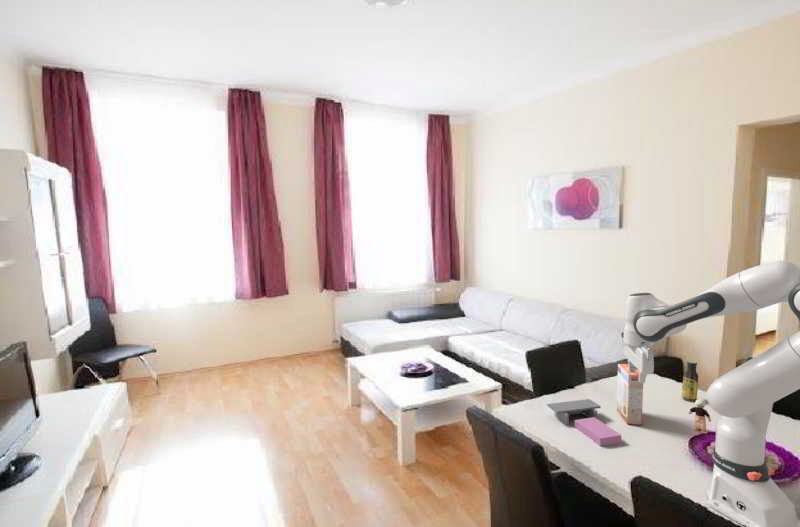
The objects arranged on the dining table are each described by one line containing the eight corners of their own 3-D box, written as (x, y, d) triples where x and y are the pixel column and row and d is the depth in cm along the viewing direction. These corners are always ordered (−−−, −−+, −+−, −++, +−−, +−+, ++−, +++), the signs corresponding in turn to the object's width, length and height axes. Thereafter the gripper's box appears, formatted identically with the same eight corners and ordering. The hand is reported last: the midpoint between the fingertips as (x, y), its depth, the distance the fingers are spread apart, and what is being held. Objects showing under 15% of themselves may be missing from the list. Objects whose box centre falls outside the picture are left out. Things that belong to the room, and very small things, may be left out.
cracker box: (643, 425, 168) (644, 375, 166) (626, 424, 169) (627, 374, 167) (631, 410, 181) (632, 363, 179) (616, 409, 182) (617, 363, 180)
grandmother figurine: (712, 432, 161) (713, 400, 160) (709, 435, 159) (711, 403, 157) (689, 425, 167) (690, 394, 166) (686, 428, 164) (687, 397, 163)
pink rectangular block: (621, 444, 155) (621, 435, 155) (600, 447, 153) (600, 438, 153) (594, 425, 170) (594, 417, 170) (574, 428, 168) (574, 420, 168)
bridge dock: (603, 420, 173) (603, 408, 172) (559, 426, 169) (559, 413, 169) (589, 410, 182) (589, 398, 182) (547, 415, 178) (547, 404, 178)
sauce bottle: (679, 398, 191) (680, 360, 190) (686, 396, 194) (687, 358, 192) (692, 403, 186) (694, 364, 184) (700, 400, 188) (701, 362, 187)
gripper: (660, 348, 134) (658, 389, 135) (638, 331, 153) (636, 367, 155) (638, 347, 135) (637, 388, 136) (619, 330, 155) (618, 366, 156)
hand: (636, 377), depth 146 cm, fingers open, 8 cm apart
